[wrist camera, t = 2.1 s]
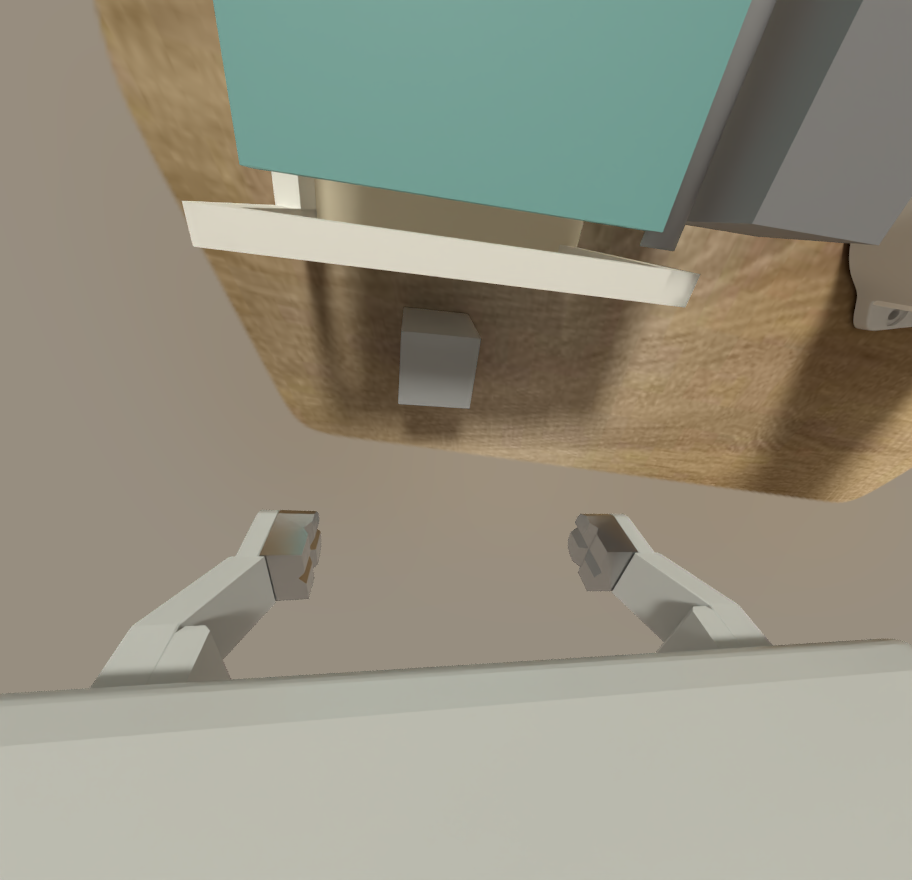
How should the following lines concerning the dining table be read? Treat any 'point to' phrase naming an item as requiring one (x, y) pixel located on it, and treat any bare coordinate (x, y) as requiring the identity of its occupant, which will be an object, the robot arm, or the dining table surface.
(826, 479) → the dining table surface
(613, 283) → the frame
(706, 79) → the trapdoor
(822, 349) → the dining table surface
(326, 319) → the dining table surface
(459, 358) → the grey block
